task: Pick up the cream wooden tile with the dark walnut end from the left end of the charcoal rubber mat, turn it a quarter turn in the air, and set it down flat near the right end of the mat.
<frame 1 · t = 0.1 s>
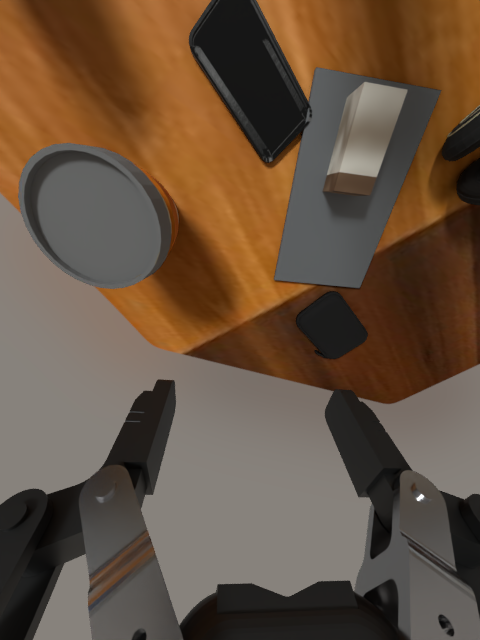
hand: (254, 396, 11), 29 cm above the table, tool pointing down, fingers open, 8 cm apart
reusable coffee cup: (149, 215, 33), on the table
headphones: (463, 155, 30), on the table
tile: (351, 151, 29), point 1 cm above the table, touching mat
carrying case or bag: (326, 325, 44), on the table
phone: (254, 85, 26), on the table
mat: (341, 202, 32), on the table
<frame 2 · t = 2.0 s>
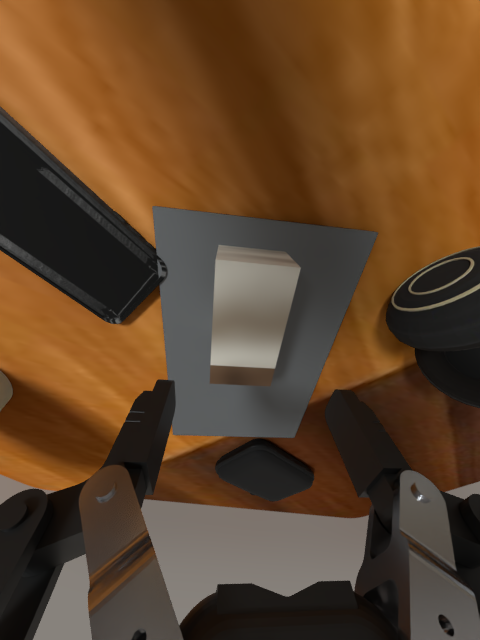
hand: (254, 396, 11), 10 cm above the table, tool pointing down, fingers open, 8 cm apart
headphones: (424, 303, 20), on the table
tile: (244, 308, 18), point 1 cm above the table, touching mat
carrying case or bag: (262, 461, 34), on the table
phone: (61, 225, 15), on the table
mat: (247, 357, 22), on the table
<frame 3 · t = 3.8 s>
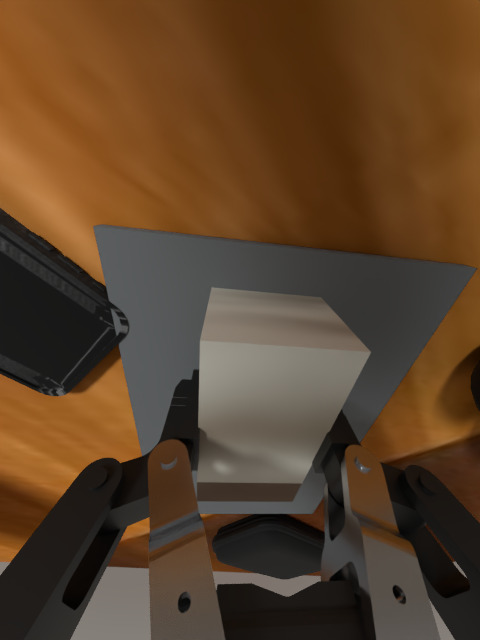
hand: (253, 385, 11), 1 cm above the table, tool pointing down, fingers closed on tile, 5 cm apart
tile: (252, 374, 12), point 1 cm above the table, touching gripper, mat
carrying case or bag: (270, 529, 27), on the table
mat: (253, 429, 16), on the table
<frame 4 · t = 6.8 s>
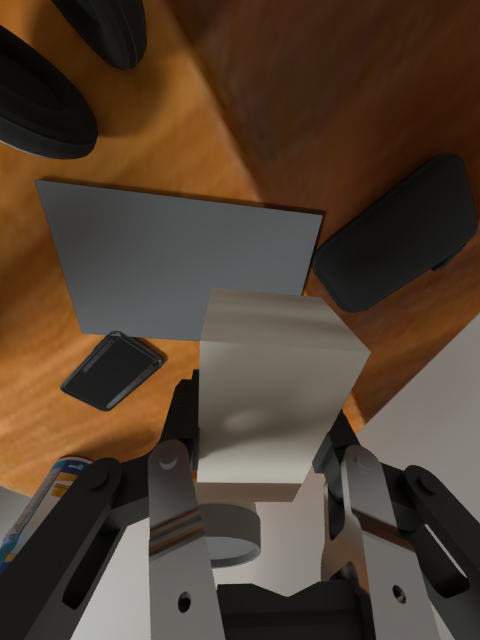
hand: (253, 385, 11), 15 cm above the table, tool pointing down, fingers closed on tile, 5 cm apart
reusable coffee cup: (218, 433, 39), on the table
headphones: (84, 68, 16), on the table
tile: (252, 374, 12), point 14 cm above the table, touching gripper
carrying case or bag: (382, 246, 23), on the table
phone: (113, 369, 31), on the table
beverage bottle: (79, 465, 42), on the table
mat: (188, 279, 24), on the table
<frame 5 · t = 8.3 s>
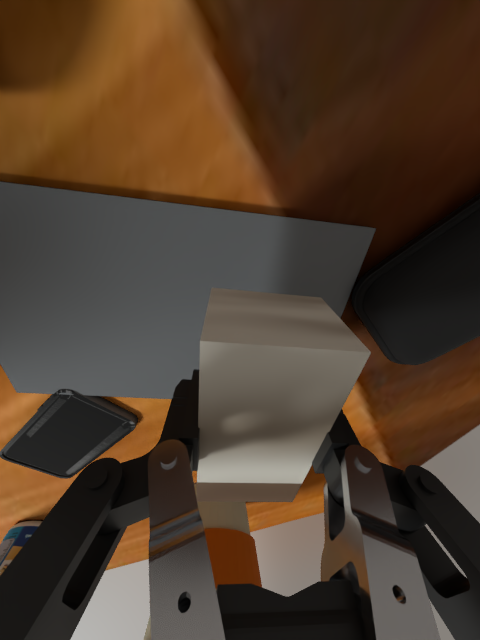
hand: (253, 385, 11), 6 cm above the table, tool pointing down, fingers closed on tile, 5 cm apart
reusable coffee cup: (213, 493, 31), on the table
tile: (252, 374, 12), point 5 cm above the table, touching gripper
carrying case or bag: (454, 271, 16), on the table
phone: (72, 429, 23), on the table
beverage bottle: (43, 527, 34), on the table
mat: (166, 320, 16), on the table
when the fingers open (3 cm above the table, at t = 9.9 s): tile drops 1 cm, resting on mat.
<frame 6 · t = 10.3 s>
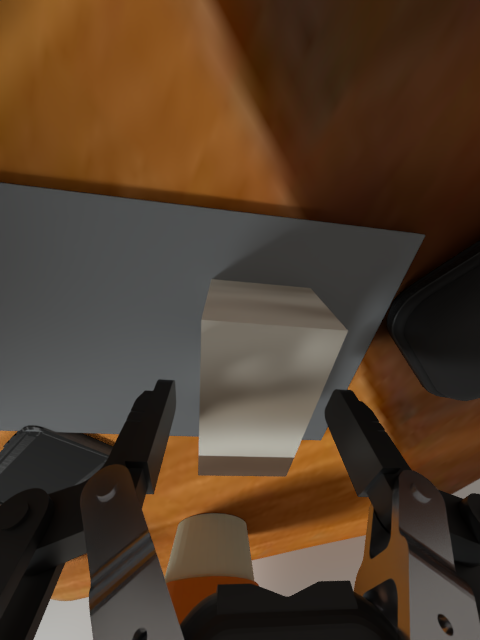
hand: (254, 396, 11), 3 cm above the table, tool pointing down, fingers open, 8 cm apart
reusable coffee cup: (212, 525, 28), on the table
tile: (249, 360, 13), point 1 cm above the table, touching mat
phone: (49, 463, 20), on the table
mat: (152, 348, 13), on the table
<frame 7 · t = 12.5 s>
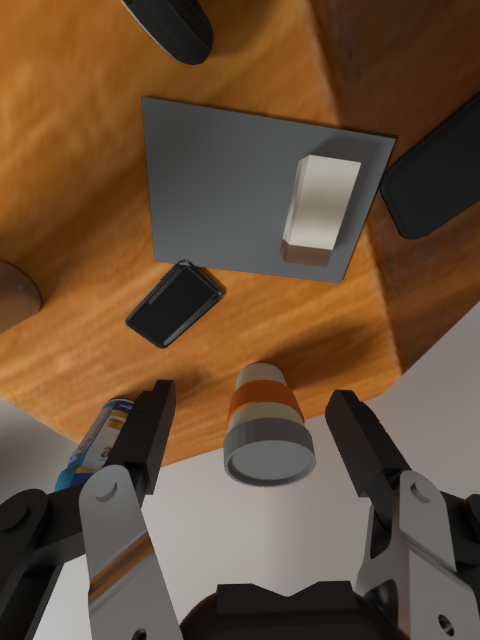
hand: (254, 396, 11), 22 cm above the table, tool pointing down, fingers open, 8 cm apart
reusable coffee cup: (259, 379, 41), on the table
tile: (308, 214, 26), point 1 cm above the table, touching mat
carrying case or bag: (447, 171, 24), on the table
phone: (174, 305, 33), on the table
beverage bottle: (125, 409, 45), on the table
mat: (259, 207, 26), on the table
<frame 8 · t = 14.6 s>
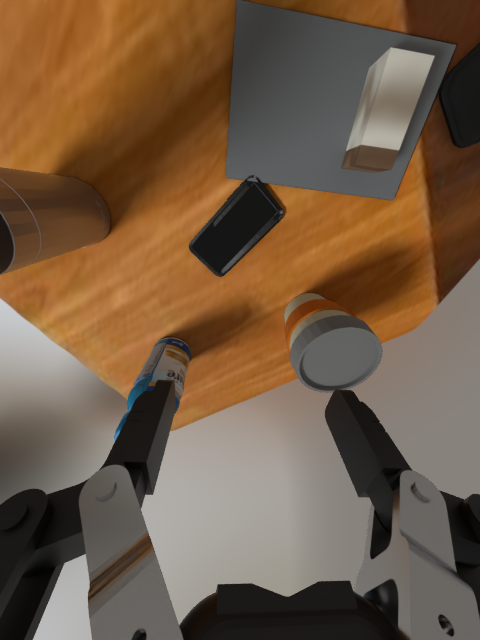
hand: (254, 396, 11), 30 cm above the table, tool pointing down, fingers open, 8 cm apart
reusable coffee cup: (305, 312, 43), on the table
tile: (371, 125, 28), point 1 cm above the table, touching mat
phone: (234, 230, 35), on the table
beverage bottle: (173, 350, 47), on the table
mat: (327, 119, 28), on the table
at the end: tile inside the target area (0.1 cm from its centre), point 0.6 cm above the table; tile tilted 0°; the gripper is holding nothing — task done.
